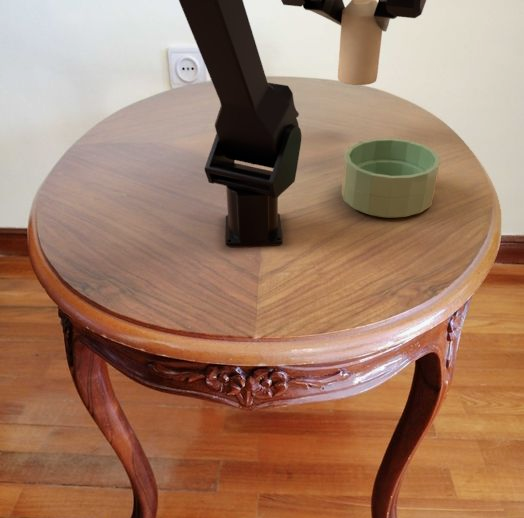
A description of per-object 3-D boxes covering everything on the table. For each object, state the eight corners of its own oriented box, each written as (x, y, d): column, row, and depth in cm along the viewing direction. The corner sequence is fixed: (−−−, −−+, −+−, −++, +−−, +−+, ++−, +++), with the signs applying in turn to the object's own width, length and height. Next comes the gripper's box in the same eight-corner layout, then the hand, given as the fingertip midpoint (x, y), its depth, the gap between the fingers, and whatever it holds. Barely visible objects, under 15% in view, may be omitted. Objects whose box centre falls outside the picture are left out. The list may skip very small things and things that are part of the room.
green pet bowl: (442, 219, 71) (451, 175, 67) (348, 222, 71) (352, 179, 67) (420, 177, 79) (426, 137, 75) (336, 180, 79) (339, 139, 75)
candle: (329, 80, 83) (334, -1, 77) (351, 71, 87) (357, -8, 80) (363, 88, 81) (371, 4, 74) (384, 78, 84) (393, -3, 77)
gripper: (446, -132, 62) (453, -25, 77) (288, -133, 69) (322, -35, 84) (411, -33, 62) (425, 55, 77) (256, -43, 69) (296, 39, 84)
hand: (365, 25), depth 80 cm, fingers closed on candle, 5 cm apart
